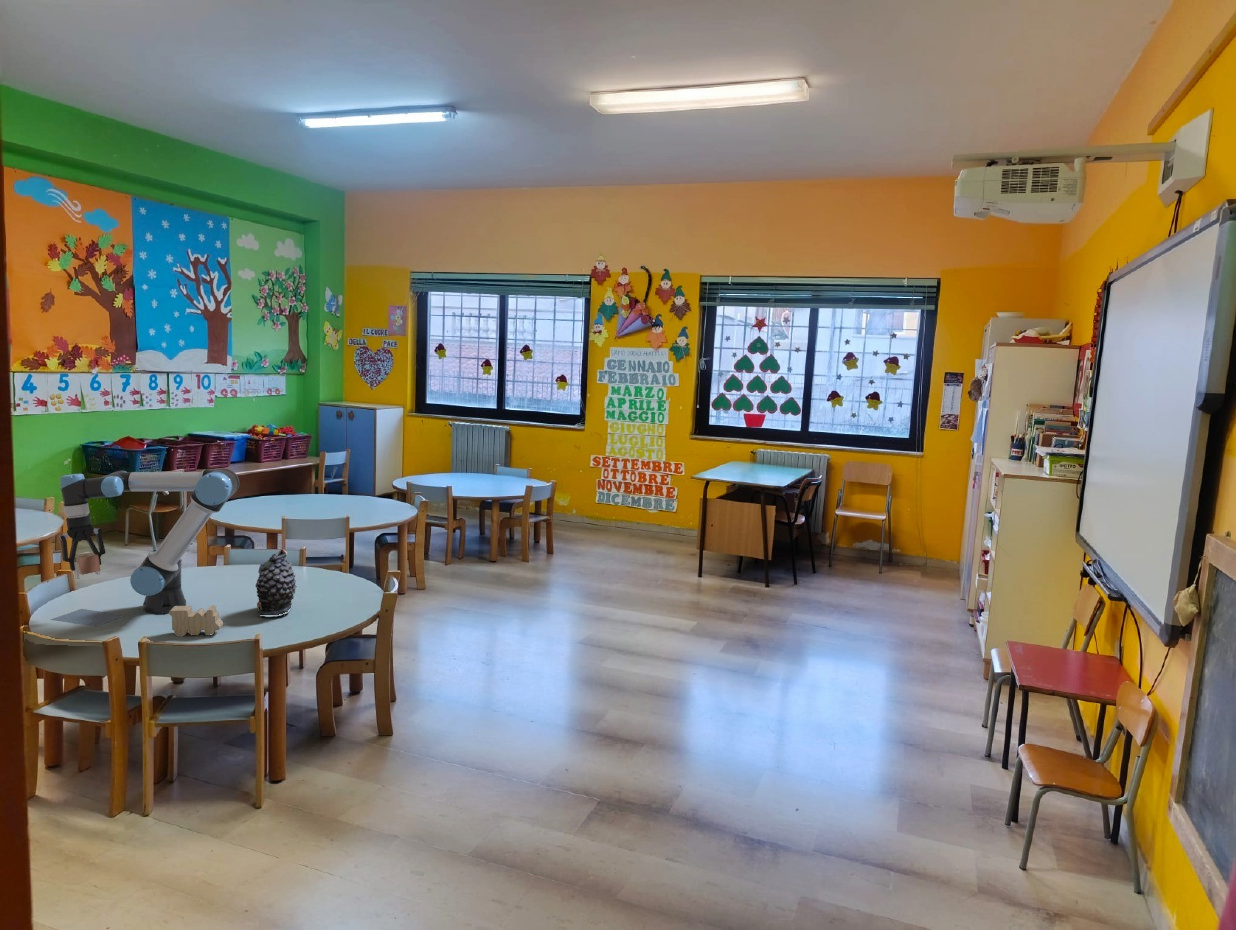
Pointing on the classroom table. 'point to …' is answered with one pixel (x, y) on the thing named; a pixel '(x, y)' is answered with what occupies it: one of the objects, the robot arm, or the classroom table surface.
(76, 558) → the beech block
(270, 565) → the dark pine cone
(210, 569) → the classroom table surface
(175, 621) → the toy train
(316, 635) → the classroom table surface
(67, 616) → the slate mat
